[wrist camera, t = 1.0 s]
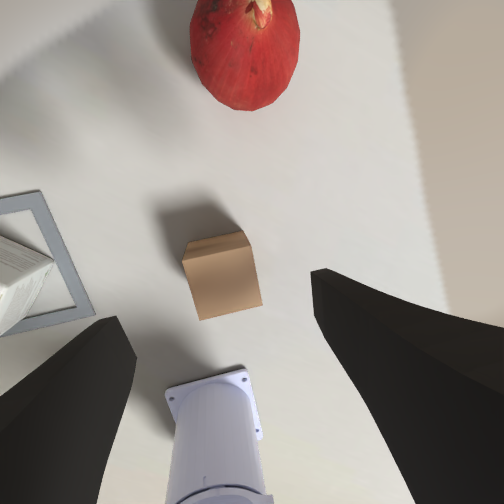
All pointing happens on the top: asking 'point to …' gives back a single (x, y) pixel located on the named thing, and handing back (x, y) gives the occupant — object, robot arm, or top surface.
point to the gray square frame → (61, 258)
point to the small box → (19, 281)
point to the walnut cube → (222, 275)
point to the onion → (245, 49)
